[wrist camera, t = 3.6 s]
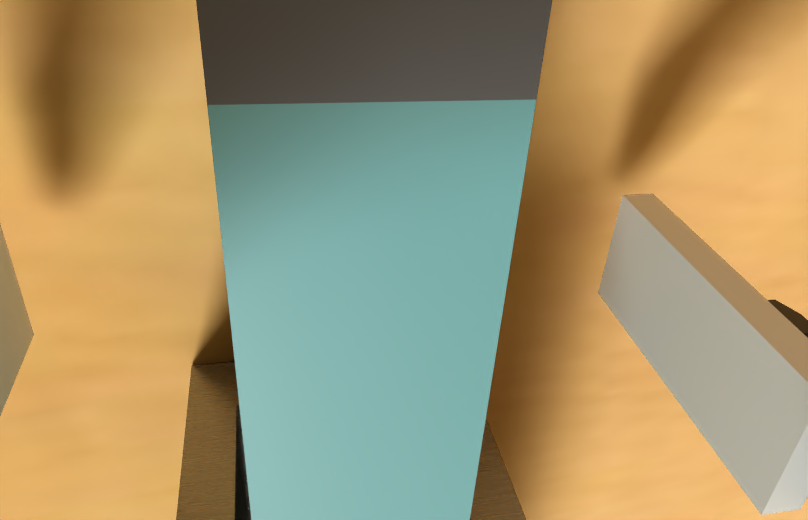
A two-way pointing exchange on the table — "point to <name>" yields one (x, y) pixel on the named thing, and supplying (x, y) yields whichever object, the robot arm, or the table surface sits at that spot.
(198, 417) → the sleeve
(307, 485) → the bar
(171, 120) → the table surface
